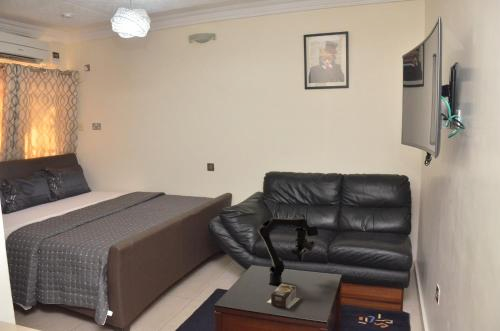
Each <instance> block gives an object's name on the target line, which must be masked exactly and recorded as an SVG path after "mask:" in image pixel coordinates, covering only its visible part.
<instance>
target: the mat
mask: <svg viewBox="0 0 500 331" xmlns="http://www.w3.org/2000/svg"><path fill="white" fill-rule="evenodd" d="M299 300H300V298H299V297H296V296H295V298H294V299H293V300H292V301H291V302H290V303H289V305H288V306H287V307H286V309H290V308H292V307H293V306H294V305H295V304H296V303H297V302H298V301H299ZM266 303H267V304H271V298H270V299H269V300H268V301H266Z"/></svg>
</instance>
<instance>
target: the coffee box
mask: <svg viewBox="0 0 500 331" xmlns="http://www.w3.org/2000/svg"><path fill="white" fill-rule="evenodd" d="M296 292H297V287H296V286H295V285H291V284H286V283H281V284H280V285H279V286H277V288H276V289H275V290H274V291H273V292H272V293H271V294H270V299H271V303H270V304H271V305H272V306H276V307H281V308H286V307H287V306H288V305H289V303H290V302H291V301H292V300H293V299H294V298H295V297H296V295H297V293H296ZM286 309H287V308H286Z"/></svg>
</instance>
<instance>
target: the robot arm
mask: <svg viewBox="0 0 500 331" xmlns="http://www.w3.org/2000/svg"><path fill="white" fill-rule="evenodd" d="M275 226H293V227H294V228H293V231H294V232H296V238H295V242H296V245H295V247H293V248H292V249H291V250H290V254H291V255H296V256H297V258H298V260H299V262H302V261H303V260H304V256H305V253H306V252H307V251H309V252H312V251H314V249H315V247H316V243H315V241H314V240H311V241H308V239H307V237H308V238H311V237H318V235H319V230H318V228H317V227H318V226H317V225H314V224H313V225H308V221H307V220H306V219H305V218H304V217H302V216H296V217H292V218H289V217H288V218H287V217H286V218H283V217H274V216H273V217H270V218H269V219H268V220H266V221H264V222H263V223H261V224H259V225H258V226H257V228H256V231H257V233H258V235H259V236H260V238H262V240H263V242H264V244H265V246H266V248H267V252H268V253H269V256H270V259H271V265H272V266H270V268H269V272H270V273H269V283H268V285H271V286H275V287H279V286H280V285H281V284H283V280H282V279H283V278H282V275H283V272H284V271H285V263H284V262H283V260H282V258H281V257H278V254H277V251H276V249H275V247H274V245H273V243H272V241H271V236H270V232H271V231H272V230H273V228H274V227H275Z"/></svg>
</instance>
